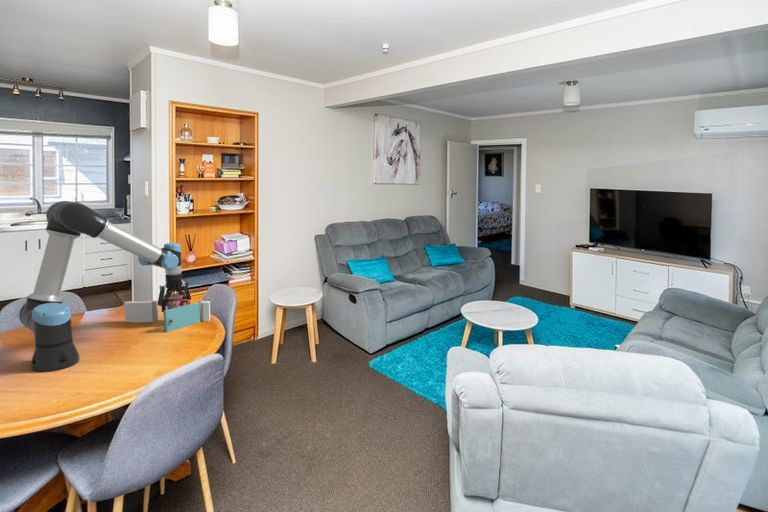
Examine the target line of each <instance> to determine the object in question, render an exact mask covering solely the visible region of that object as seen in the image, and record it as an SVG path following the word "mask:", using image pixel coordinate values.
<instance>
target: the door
mask: <svg viewBox="0 0 768 512" xmlns="http://www.w3.org/2000/svg"><path fill="white" fill-rule="evenodd" d="M195 323H196V324H199V323H200V303H199V301H197V302H194V303H190V304H189V305H185V306H181V307H177V308H173V309H169V310H165V311H164V313H163V325H164V327H163V328H164V329H163V330H164V332H165V333H168V332H172V330H173V331H176V330H178V329H181V328H182V327H183V328H186V327H189V326H192V325H195ZM188 325H189V326H188ZM185 326H186V327H185ZM175 329H176V330H175Z"/></svg>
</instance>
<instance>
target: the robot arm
mask: <svg viewBox="0 0 768 512" xmlns="http://www.w3.org/2000/svg"><path fill="white" fill-rule="evenodd" d="M45 216H46V221H47V224H46V228H45V231H46V232H47V234H48V238H47V242H46V246H45V250H44V252H43V255H42V256H43V257H42V259H41V260H42V261H41V263H40V268H39V271H38V275H37V279H36V282H35V286H34V289H33V292H32V293H30V294H28V295H27V296H26V297H27V298H26V301H25V303H23V304H22V306H21V307H20V309H19V311H18V318H19V321H20V322H21V324H22V325H23V326H24V327H25V328H26V329H28V330H30V331H32V332H33V336H34V345H35V346H34V348H35V349H34V351H33V355H32V358H31V362H30V365H31V366H30V367H31V369H32V371H36V372H54V371H58V370H65V368H70V367H72V366H74V365H76V364H77V363H79V362H80V353H79V352H78V349H77V347H76V346H75V343H74V339H73V327H72V326H73V325H72V312H71V308H70V307H69V305H67V304H65V303H63V301H64V299H63V298H62V297H61V296H60V295H61V291H62V288H63V285H64V284H63V283H64V280H65V277H66V273H67V269H68V265H69V263H70V262H69V261H70V258H71V255H72V251H73V248H74V247H73V246H74V243H75V240H77V239H79V238H80V237H81V234H83V235H86V236H88V237H91V238H93V239H97V238H98V239H101V240H103V241H105V242H107V243H109V244H111V245H113V246H116V247H118V248H119V249H122V250H124V251H126V252H128V253H130V254H133V255H134V256H137V260H138V263H139V264H140V265H141V266H147V267H148V266H154V267H159V268H162V269H164V271H165V275H164V276H165V285H159V293H158V299H157V305H158V306H160V307H161V312H162V313H163V314H164V311H165V310H168V306H166V304H167V302H168V300H167V298H169V297H170V295H171V294H173V293H175V292H178V293H177V294H180V295H183V298H182V300H184V299H188V300H189V301H191V300H192V296H191V292H190V290H189V282H187V281H183V274H182V273H183V270H182V247H181V246H182V245H181V244H180V243H178V242H167V243H164V244H163V247H161V248H160V247H159V246H157V245H155V244H153V243H151V242H149V241H147V240H145V239H143V238H141V237H139V236H137V235H136V234H133V233H131V232H130V231H127V230H126V229H124V228H121V227H120V226H118V225H116V224H114V223H112V222H110V221H109V219H108V217H106V216H104V215H102V214H100V213H99V212H98V211H95V210H94V209H92V208H91V207H89V206H87V205H86V204H83V203H79V202H74V201H68V200H63V201H57V202H55V203H54V202H53V203H52V204H51V205H50V206H49V207H48V208H47V210H46V213H45ZM164 295H165V297H166V298H164ZM185 305H188V302H187V301H184V302H183V304H182V306H185Z"/></svg>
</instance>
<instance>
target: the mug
mask: <svg viewBox="0 0 768 512" xmlns="http://www.w3.org/2000/svg"><path fill="white" fill-rule="evenodd" d="M164 298H166V297H165V294H164ZM182 298H183V295H180V294H179V293H172V294H171V295H170V297H169V298H167V300H168V302H167V304H166V306H168V310H169V309H173V308H177V307H181V306H182V304H183V302H184V301H187V302H188V305H189V304H191V300H188V299H184V300H183V299H182Z"/></svg>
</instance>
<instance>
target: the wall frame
mask: <svg viewBox="0 0 768 512" xmlns="http://www.w3.org/2000/svg"><path fill="white" fill-rule="evenodd" d="M198 303H200V321H209V322H211V301H210V300H209V301H207V300H206V301H205V300H198ZM157 304H158V300H152V301H125V302H124V303H123V305H124V319H125V320H124V321H125V323H126V322H131V323H158V322H159V310H158V308H159V307H158V306H159V305H157ZM157 321H158V322H157Z"/></svg>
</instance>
